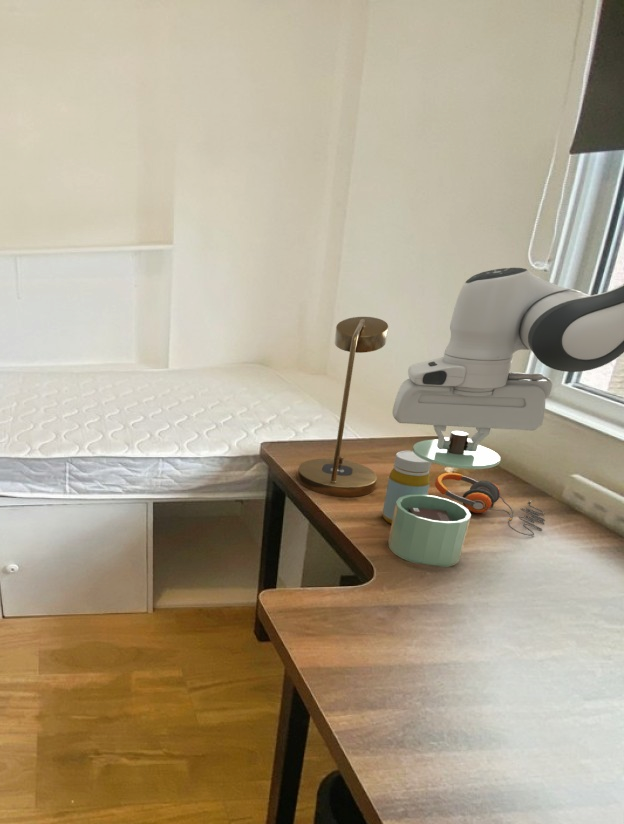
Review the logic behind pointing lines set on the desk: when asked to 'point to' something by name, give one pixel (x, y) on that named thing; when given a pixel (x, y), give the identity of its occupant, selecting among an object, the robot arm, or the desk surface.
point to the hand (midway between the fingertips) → (455, 449)
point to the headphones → (483, 498)
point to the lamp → (337, 472)
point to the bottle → (406, 480)
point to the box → (430, 514)
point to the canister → (428, 531)
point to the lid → (457, 453)
